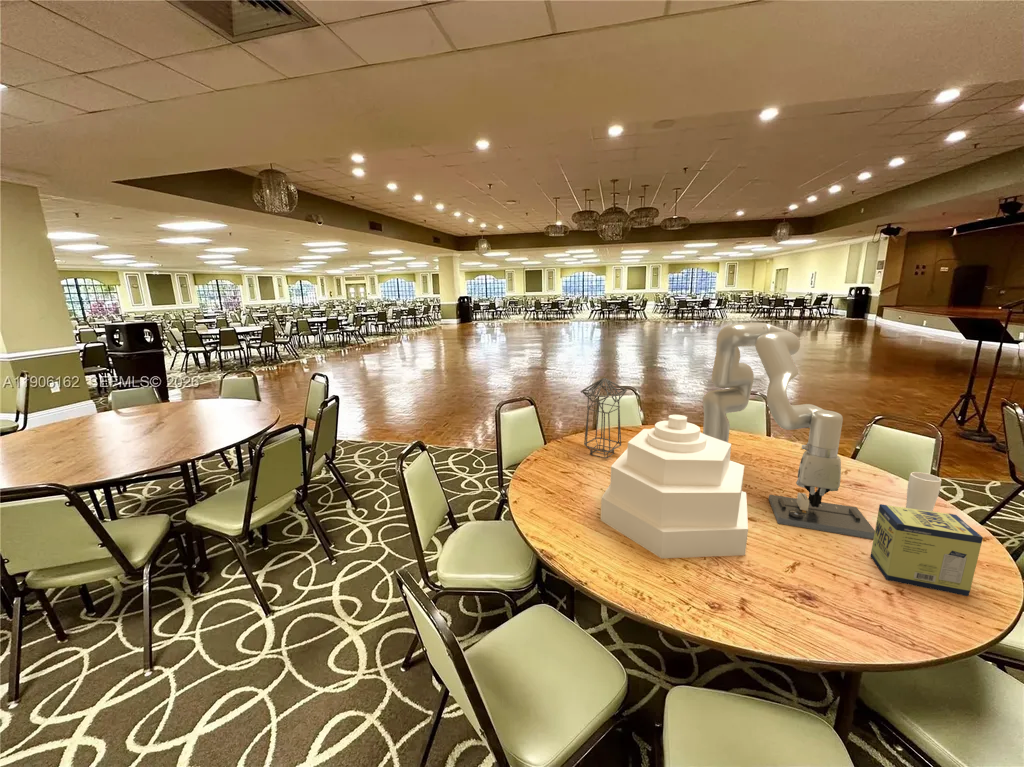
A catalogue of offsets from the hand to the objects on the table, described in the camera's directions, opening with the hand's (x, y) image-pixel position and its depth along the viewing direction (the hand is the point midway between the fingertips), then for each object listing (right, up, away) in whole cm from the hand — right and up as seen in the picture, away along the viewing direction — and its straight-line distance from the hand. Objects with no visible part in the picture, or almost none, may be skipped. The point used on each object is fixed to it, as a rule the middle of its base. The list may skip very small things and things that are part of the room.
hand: (814, 505), depth 130 cm
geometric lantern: (-56, +7, +53) cm, 77 cm away
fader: (-3, -1, +1) cm, 3 cm away
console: (0, -4, -1) cm, 4 cm away
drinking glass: (+28, -4, -4) cm, 29 cm away
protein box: (+5, -10, -27) cm, 30 cm away
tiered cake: (-45, -5, +1) cm, 45 cm away
